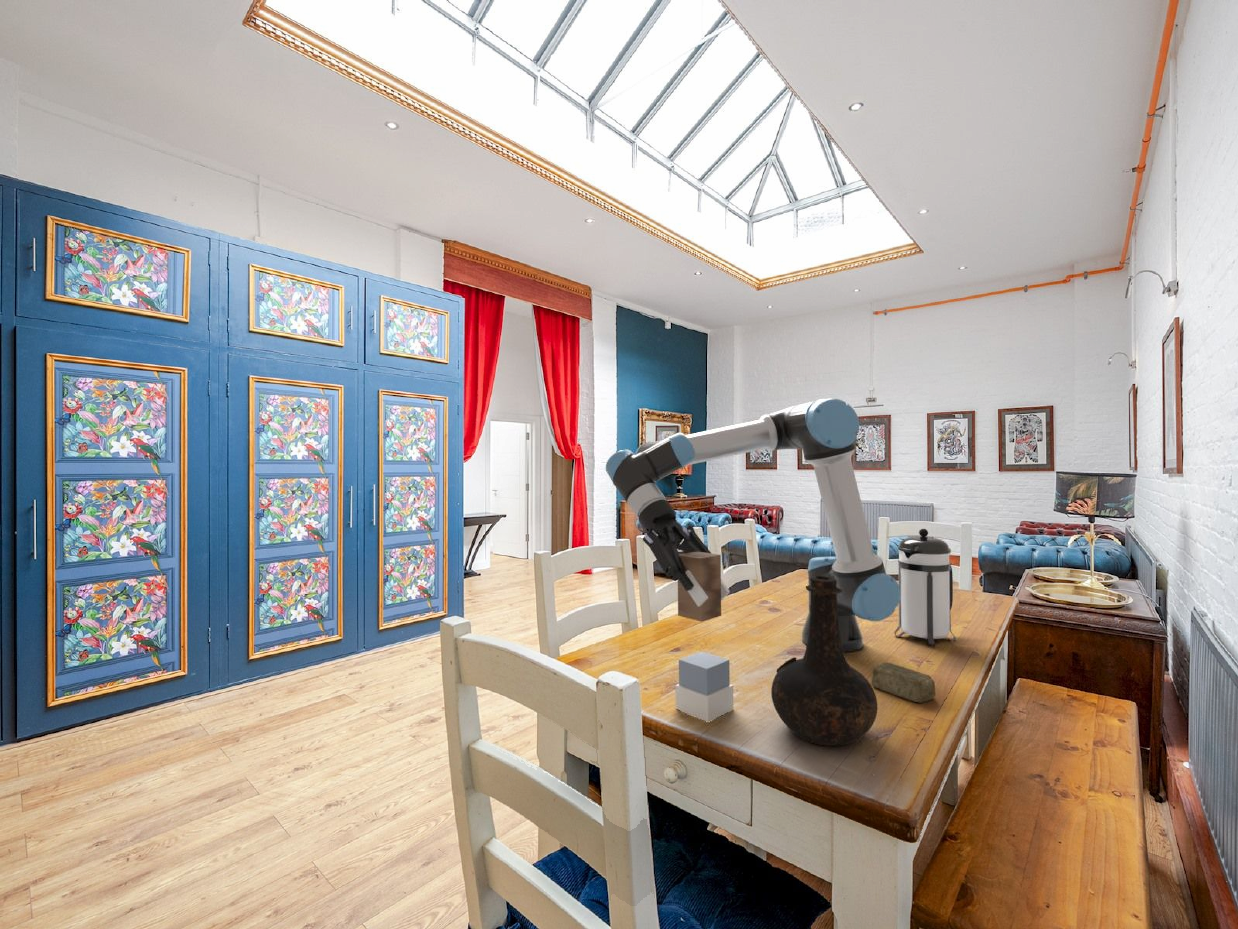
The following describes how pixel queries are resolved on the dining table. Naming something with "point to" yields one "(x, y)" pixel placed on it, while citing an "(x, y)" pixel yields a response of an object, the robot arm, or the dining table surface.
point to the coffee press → (925, 588)
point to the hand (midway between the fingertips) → (714, 599)
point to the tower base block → (704, 702)
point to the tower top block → (704, 673)
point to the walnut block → (709, 579)
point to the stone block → (903, 682)
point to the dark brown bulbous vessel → (824, 680)
